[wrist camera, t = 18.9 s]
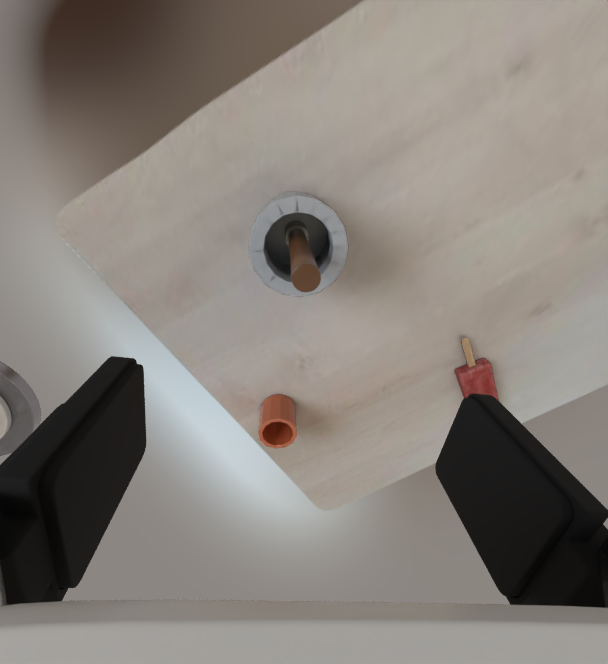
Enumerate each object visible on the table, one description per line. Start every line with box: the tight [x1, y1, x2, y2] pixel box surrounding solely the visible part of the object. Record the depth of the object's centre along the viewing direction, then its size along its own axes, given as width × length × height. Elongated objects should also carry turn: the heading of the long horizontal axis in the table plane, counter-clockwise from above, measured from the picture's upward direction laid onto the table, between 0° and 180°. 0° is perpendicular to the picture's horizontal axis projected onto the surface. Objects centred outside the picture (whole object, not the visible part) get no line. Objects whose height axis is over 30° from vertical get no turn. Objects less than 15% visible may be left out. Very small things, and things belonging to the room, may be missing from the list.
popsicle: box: [455, 338, 499, 401], centre depth 48 cm, size 4×2×15 cm
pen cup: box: [258, 394, 297, 448], centre depth 47 cm, size 5×5×6 cm
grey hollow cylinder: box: [248, 191, 348, 297], centre depth 34 cm, size 9×9×11 cm
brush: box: [285, 220, 321, 292], centre depth 29 cm, size 3×3×20 cm
